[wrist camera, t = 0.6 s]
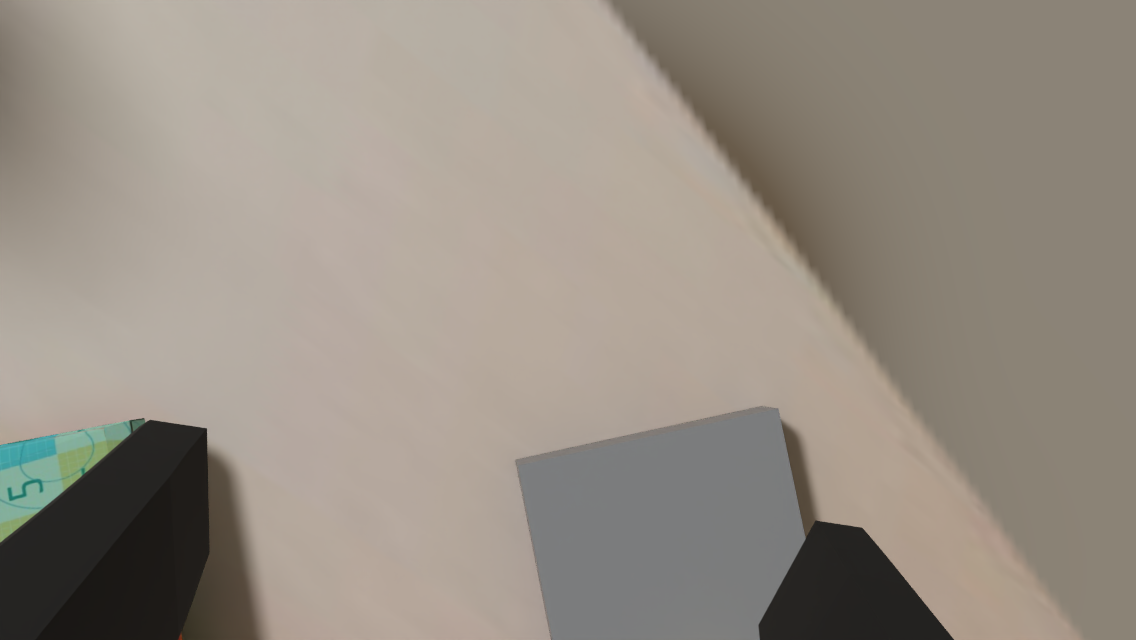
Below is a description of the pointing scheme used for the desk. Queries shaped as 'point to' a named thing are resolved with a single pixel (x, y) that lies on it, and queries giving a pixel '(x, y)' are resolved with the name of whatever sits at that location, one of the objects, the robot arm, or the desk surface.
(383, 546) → the desk surface
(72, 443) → the puzzle game
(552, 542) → the trap channel
